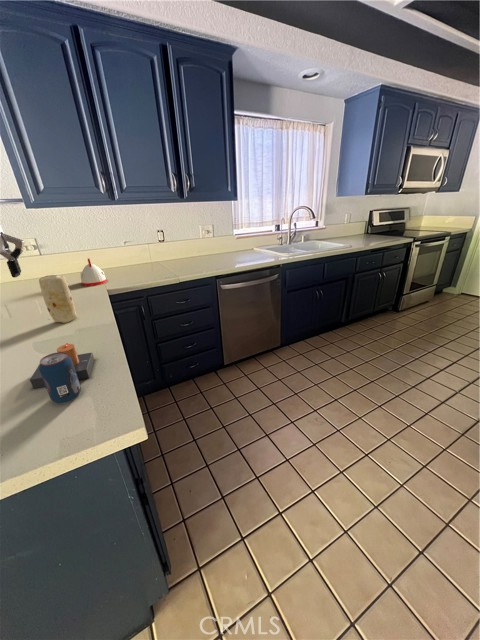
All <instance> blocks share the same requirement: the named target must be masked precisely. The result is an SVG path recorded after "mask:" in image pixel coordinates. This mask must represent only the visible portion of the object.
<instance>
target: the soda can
mask: <svg viewBox="0 0 480 640" xmlns="http://www.w3.org/2000/svg"><path fill="white" fill-rule="evenodd" d="M39 364H40V367H39V370H40V373H41V375H42V378H43V381H44V383H45V386H44V387H45V388H46V391H47V393H48V396H49V398H50V400H51V401H52V402H54V403H57V404H60V405H62V404H63V405H64V404H67V403H71V402H72V401H74V400H76V399H77V398H78V397H79V396H80V394H81V391H82V386H81V383H80V380H78V377H77V374H76V371H75V368H74V365H73V362H72V359H71V358H70V357H69V356H67V354H66V353H64V352H57V351H56V352H52V353H50V354H47V355H45V356H43V357H42V358H40V360H39Z"/></svg>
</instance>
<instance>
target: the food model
mask: <svg viewBox="0 0 480 640" xmlns="http://www.w3.org/2000/svg"><path fill="white" fill-rule="evenodd" d="M38 284H39V288H40V291H41V294H42V298H43V301H44V304H45V306H46V309H47V311H48V313H49V315H50V317H51V318H52V320H53V321H54V322H55V323H62V324H63V323H64V324H67V323H69V322H71V321H74V320H75V319H76V318H77V317H78V314H77V313H76V308H75V304H74V301H73V298H72V294H71V290H70V288H69V285H68V283H67V280H66V277H65V276H64V275H59V274H58V275H55V274H50V275H45V276H42V277H40V278H39V279H38Z"/></svg>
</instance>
